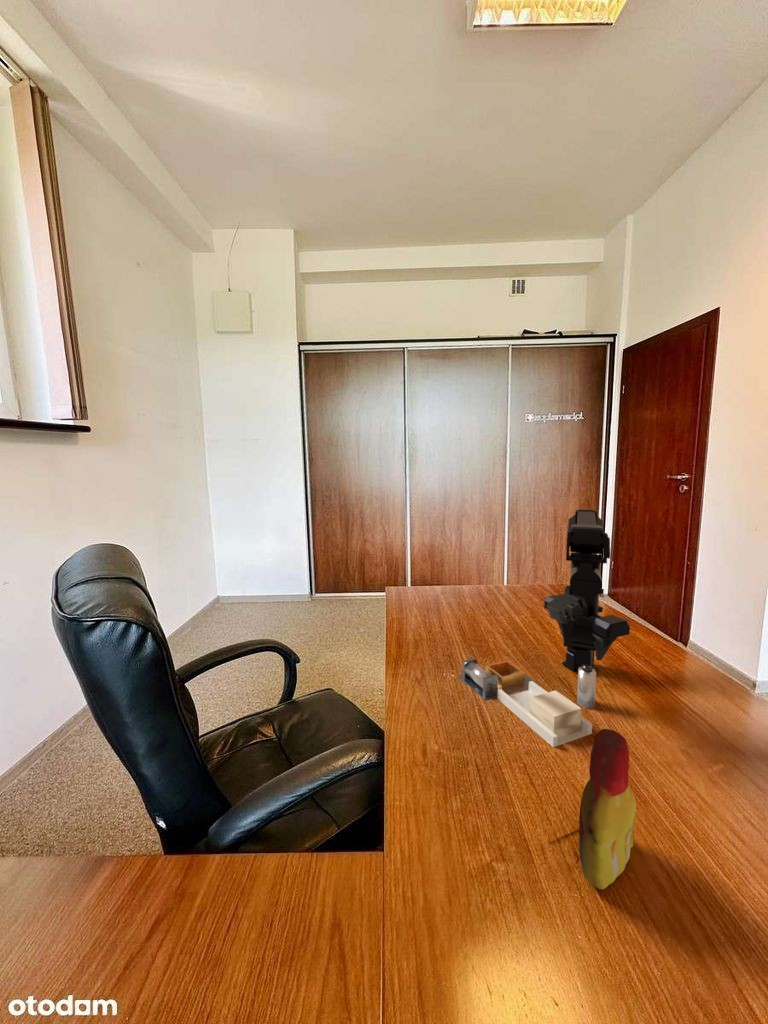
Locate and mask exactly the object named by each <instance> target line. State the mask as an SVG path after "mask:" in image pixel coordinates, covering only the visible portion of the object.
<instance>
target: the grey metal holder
mask: <svg viewBox="0 0 768 1024" xmlns="http://www.w3.org/2000/svg"><path fill="white" fill-rule="evenodd" d="M477 663H478V661H477V658H476V657H473V658H469V659H464V660H462V673H461V674H458V675H457V678H458V679H460V681H462V682H463V683H464V684H465V685H466V686H468V687H470V688H471V689H472V690H473V691H474V692H476V694H477V695H479V696H480V697H481V698H482V699H483V700H484V701H488V700H492V699H496V698H497V697H498V690H502V691H504V692H505V693H506V694H507V695H512V694H515V693H519V692H523V691H526V690H529V682H530V681H533V682H534V683H536V684H537V685H538V686H541V684H540V683H538V682H537V681H536V680H534V679H533V678H531V677H530V676H528V675H527V674H525V671H523V670H522V669H521V668H519V667H518V666H517V665H515V664H513V663H512V662H511V661H510V660H502V661H498V662H495V663H494V662H493V663H490V664H486V665H485V668H482V667H481V666H479V665H478V664H477Z"/></svg>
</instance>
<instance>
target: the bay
mask: <svg viewBox="0 0 768 1024" xmlns="http://www.w3.org/2000/svg"><path fill="white" fill-rule="evenodd" d="M548 692H549V691H547V690H546V689H544V688H543V687H541V685H539V686H538V685H537V684H536V683H534V682H533V681H530V682H529V689H527V690H522V691H519V692H515V693H512V694H506V693H505V692H504V691H502V690H498V697H497V700H498V701H499V702H500V703H502V704H503V705H504V706H505V707H506V708H507V709H509V710H510V712H512V713H513V714H515V715H516V716H517V718H519V719H520V720H521V721H523V722H524V724H526V725H527V726H528V727H529V728H530V729H532V730H533V731H534V732H535V734H537V735H538V736H540V738H542V739H543V740H544V741H545V742H547V743H548V744H549V745H550V746H551V747H552V748H556V747H558V746H561V745H563V744H567V743H569V742H572V741H575V740H578V739H580V738H584V737H585V736H590V735H592V734H593V723H591V722H590V721H589V720H587V718H584V717H583V716H582V715H581V727H580V731H579V732H576V733H573V734H570V735H567V736H564V737H561V738H558V739H557V737H558V736H557V735H556V734H554V733H553V732H552V731H551V730H550V729H548V728H547V727H546V726H545V725H544V724H542V723H541V722H540V721H539V720H538V719H536V718H535V717H534V716H533V715H531V714H530V713H529V707H530V698H531V697H534V696H538V695H541V694H545V693H548Z"/></svg>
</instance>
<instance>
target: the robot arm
mask: <svg viewBox="0 0 768 1024" xmlns="http://www.w3.org/2000/svg"><path fill="white" fill-rule="evenodd" d="M567 521H568V522H567V533H566V534H567V535H566V538H567V539H566V552H565V553H566V555H565V556H566V557H565V561H567V562H568V561H569V562H570V563H571V564H570V574H569V575H570V578H569V585H567V586H565V588H564V592H563V593H564V594H563V593H559V594H555V595H554V594H553V595H547V597H546V598H545V599H544V602H543V603H544V604H543V605H544V606H543V608H544V609H545V610H547V612H548V613H549V617H550V619H552V620H556V622H557V623H558V627H559V630H560V633H561V636H562V639H563V647H566V653H565V661H562V662H561V665H562V666H564V667H565V668H567V669H569V670H571V671H573V672H575V673H576V674H577V675H578V668H579V667H581V666H582V665H583V664H589V665H591V666H592V668H593V669H595V670H596V672H597V671H599V667H597V666H595V658H596V661H602V660H603V658H604V657H605V655H606V654H607V652H608V650H609V649H610V648H611V646H612V645H613V644H614V642H615V641H616V640H617V639H618V638H620V637H624V636H628V635H630V633H631V632H630V631H631V625H630V623H629V622H628V620H627V619H623V618H621V617H619V616H616V615H614V614H610V615H605V616H601V615H598V614H599V613H602V612H603V610H604V607H602V606H600V605H599V604H600V603H599V602H600V595H604V591H605V589H604V588H603V579H602V575H601V564H607V563H608V559H609V560H610V558H611V539H610V537H609V534H608V533H607V532H604V520H603V519H602V518H600V516H598V510H595V509H590V508H589V509H587V508H586V509H585V508H583V509H581V508H580V509H579V508H578V509H575V514H574V515H572V516H571V517H570V518H569V519H568V520H567ZM602 554H603V555H602Z"/></svg>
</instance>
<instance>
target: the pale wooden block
mask: <svg viewBox="0 0 768 1024" xmlns="http://www.w3.org/2000/svg"><path fill="white" fill-rule="evenodd" d="M547 692H548V693H545V694H541V695H538V696H535V695H534V697H533V696H532V697H531V698H530V707H529V713H530V714H531V715H533V716H534V717H535V718H536V719H538V720H539V721H540V722H541V723H542V724H544V725H545V726H546V727H547V728H548V729H550V730H551V731H552V732H553V733H554V734H556V735H557V736H558V737H557V739H558V738H562V737H564V736H567V735H569V736H570V734H573V733H576V734H577V732H579V731H580V727H581V716H582V708H581V706H580V705H578V704H577V703H574V702H573V701H571V700H570V699H569V698H568V697H566V696H564V694H561V693H560V692H559V691H557V690H556V689H555V690H552V691H547Z"/></svg>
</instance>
